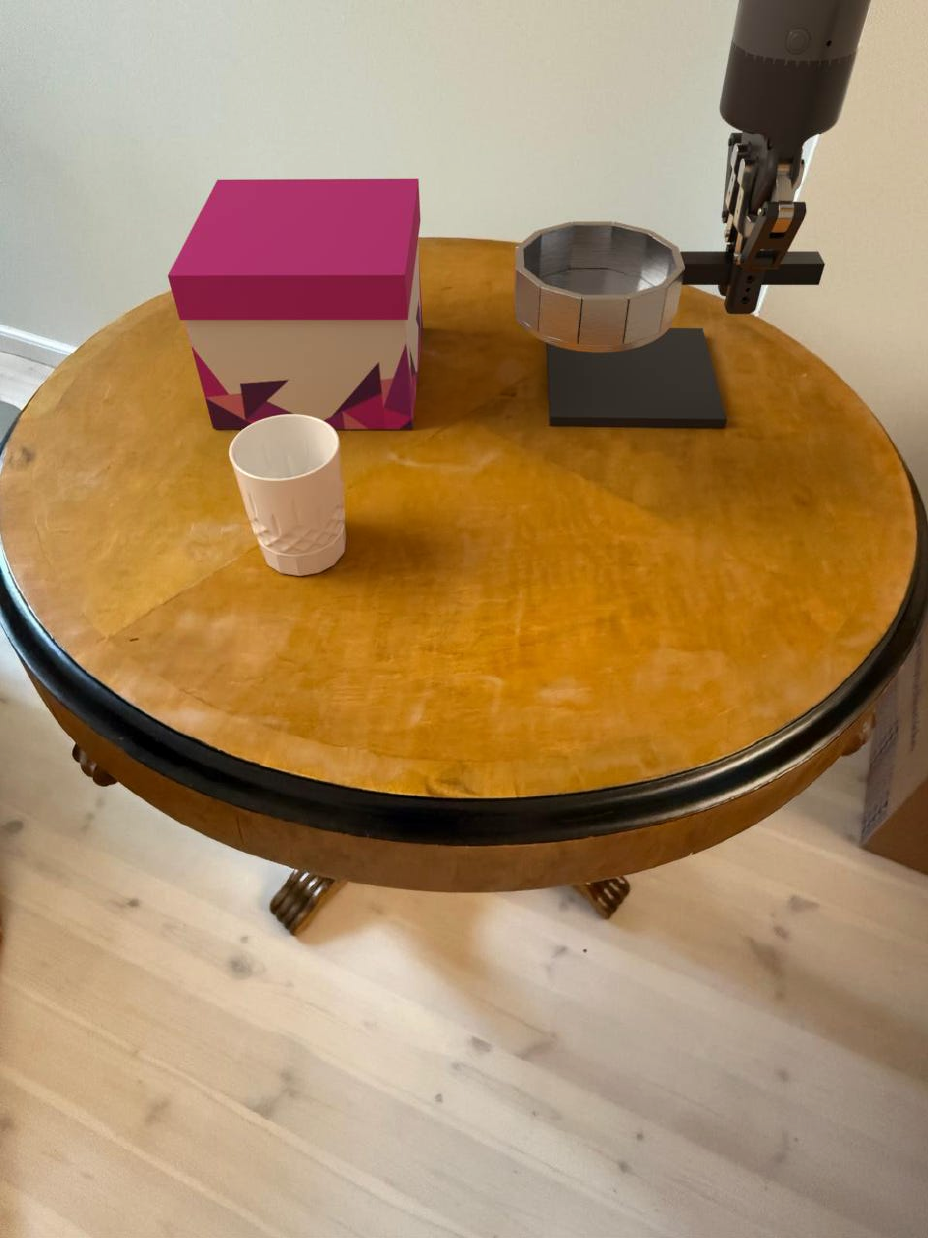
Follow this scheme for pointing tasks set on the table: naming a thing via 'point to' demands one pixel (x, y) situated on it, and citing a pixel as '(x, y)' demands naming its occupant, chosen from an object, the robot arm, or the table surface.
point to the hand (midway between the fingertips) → (735, 301)
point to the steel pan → (619, 283)
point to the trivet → (637, 385)
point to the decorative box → (305, 300)
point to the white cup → (292, 491)
